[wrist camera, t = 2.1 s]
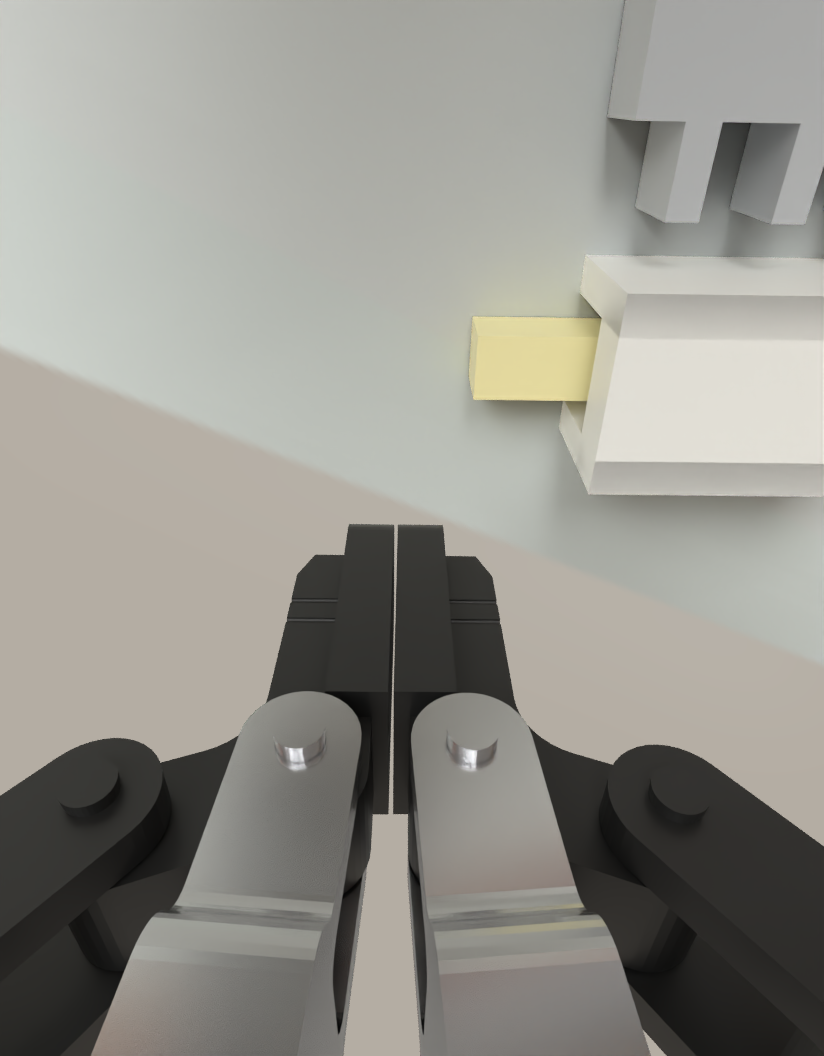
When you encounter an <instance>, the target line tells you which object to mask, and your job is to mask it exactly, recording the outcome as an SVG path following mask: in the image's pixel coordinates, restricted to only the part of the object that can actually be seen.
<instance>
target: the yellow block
mask: <svg viewBox="0 0 824 1056" xmlns="http://www.w3.org/2000/svg"><path fill="white" fill-rule="evenodd" d="M601 320H602V318H549V317H474V316H472V332H471V347H470V362H469V381H470V386H471V390H472V395H473V400H538V401H587V400H588V394H589V388H590V383H591V377H592V371H593V365H594V360H595V354H596V348H597V343H598V337H599V331H600V326H601Z"/></svg>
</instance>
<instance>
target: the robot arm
mask: <svg viewBox="0 0 824 1056" xmlns="http://www.w3.org/2000/svg"><path fill="white" fill-rule="evenodd" d="M397 547H398V548H397V587H396V625H395V666H394V775H393V780H394V782H393V787H394V788H393V793H394V794H393V814H408V889H409V903H410V917H411V929H412V942H413V943H412V944H413V957H414V970H415V984H416V998H417V1011H418V1024H419V1039H420V1056H651V1054H650V1051H649V1048H648V1045H647V1042H646V1039H645V1035H644V1033H643V1030H644V1031H645V1032H646V1033H647V1034H648V1035H649V1036H650V1038H651V1039H652V1040H653V1041H654V1042H655V1043H656V1044H657V1045H658V1047H659V1048H660V1049H661V1050H662V1051H663V1052H664V1053H665V1054H666V1055H667V1056H824V846H822V845H821V844H820V843H818V842H817V841H815V840H814V839H813V838H811V837H810V836H809V835H807V834H806V833H805V832H803V831H802V830H800V829H799V828H798V827H796V826H795V825H793V824H792V823H791V822H789V821H788V820H787V819H785V818H784V817H783V816H781V815H780V814H779V813H777V812H776V811H774V810H773V809H772V808H770V807H769V806H768V805H766V804H765V803H763V802H762V801H761V800H759V799H758V798H757V797H755V796H754V795H752V794H751V793H750V792H748V791H747V790H745V789H744V788H743V787H742V786H740V785H739V784H738V783H736V782H735V781H733V780H732V779H731V778H729V777H728V776H726V775H725V774H724V773H722V772H721V771H720V770H718V769H717V768H715V767H714V766H713V765H711V764H710V763H708V762H707V761H705V760H704V759H702V758H700V757H698V756H696V755H694V754H692V753H690V752H687V751H684V750H682V749H679V748H675V747H671V746H664V745H645V746H640V747H636V748H634V749H631V750H629V751H627V752H625V753H624V754H622V755H621V756H620V757H619V758H618V759H617V760H616V761H615V763H614V765H611V764H608V763H604V762H601V761H597V760H594V759H590V758H587V757H584V756H580V755H577V754H573V753H570V752H568V751H565V750H562V749H560V748H558V747H556V746H553V745H552V744H550V743H549V742H547V741H545V740H544V739H542V738H541V737H540V736H538V735H537V734H536V733H535V732H534V731H533V730H532V729H531V728H530V727H529V726H528V725H527V724H526V722H525V721H524V719H523V718H522V717H521V715H520V714H519V712H518V709H517V707H516V704H515V700H514V696H513V690H512V684H511V679H510V673H509V668H508V662H507V657H506V651H505V646H504V640H503V634H502V629H501V625H500V618H499V612H498V606H497V605H496V595H495V590H494V584H493V578H492V576H491V575H490V573H489V572H488V571H487V570H486V569H485V567H484V566H483V565H482V564H481V563H480V561H479V560H478V559H477V558H476V557H468V556H467V557H466V556H464V557H463V556H445V545H444V533H443V526H442V525H398V546H397ZM393 631H394V525H371V524H349V527H348V533H347V540H346V547H345V555H315V556H314V557H313V558H312V559H311V560H310V561H309V562H308V563H307V565H306V566H305V567H304V568H303V569H302V570H301V571H300V572H299V573H298V575H297V578H296V583H295V586H294V591H293V595H292V603H290V607H289V611H288V616H287V622H286V624H285V629H284V632H283V637H282V641H281V645H280V650H279V653H278V658H277V662H276V666H275V670H274V674H273V678H272V683H271V687H270V691H269V695H268V699H267V702H266V703H265V704H264V705H262V706H261V707H260V708H258V709H257V710H256V711H255V712H254V713H253V714H252V715H251V716H250V717H249V718H248V720H247V721H246V722H245V724H244V726H243V727H242V730H241V732H240V734H239V736H237V737H235V738H234V739H232V740H230V741H229V742H227V743H224V744H222V745H220V746H218V747H215V748H213V749H209V750H206V751H203V752H199V753H195V754H192V755H188V756H184V757H180V758H177V759H173V760H170V761H165V762H162V763H160V761H159V759H158V758H157V755H156V754H155V753H154V752H153V751H152V750H151V749H150V748H148V747H147V746H146V745H144V744H142V743H140V742H137V741H134V740H130V739H121V738H110V739H102V740H97V741H93V742H89V743H86V744H84V745H80V746H79V747H76V748H74V749H72V750H70V751H68V752H66V753H64V754H63V755H61V756H59V757H58V758H56V759H55V760H53V761H52V762H50V763H49V764H47V765H46V766H44V767H43V768H41V769H40V770H38V771H37V772H35V773H34V774H32V775H31V776H29V777H28V778H26V779H25V780H23V781H22V782H20V783H19V784H17V785H16V786H14V787H13V788H11V789H10V790H8V791H7V792H5V793H4V794H2V795H1V796H0V1056H343V1055H344V1044H345V1035H346V1027H347V1019H348V1011H349V1004H350V996H351V988H352V981H353V973H354V965H355V958H356V950H357V942H358V935H359V927H360V919H361V912H362V904H363V896H364V888H365V880H366V867H367V864H368V861H369V858H370V851H371V835H372V816H373V814H388V807H389V773H390V772H389V770H390V737H391V736H390V735H391V703H392V701H391V700H392V668H393Z"/></svg>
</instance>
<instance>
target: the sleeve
mask: <svg viewBox="0 0 824 1056" xmlns="http://www.w3.org/2000/svg"><path fill="white" fill-rule="evenodd" d="M580 293H581V295H582V296H583V297H584V298H585V299H586V300H587V302H588V303H589V304H590V305H591V306H592V307H593V309H594V310H595V311H596V312H597V313H598V314H599V316H600V317H601V318H602V320H601V326H600V331H599V337H598V343H597V348H596V354H595V360H594V365H593V371H592V377H591V383H590V388H589V394H588V400H587V401H563V404H562V411H561V417H560V424H559V430H560V432H561V434H562V436H563V439H564V441H565V443H566V445H567V447H568V450H569V452H570V454H571V456H572V459H573V461H574V463H575V465H576V467H577V470H578V472H579V474H580V476H581V479H582V481H583V483H584V485H585V487H586V490H587V492H588V494H589V495H680V496H782V497H824V258H768V257H699V256H630V255H585V261H584V267H583V274H582V280H581V287H580Z"/></svg>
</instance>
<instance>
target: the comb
mask: <svg viewBox="0 0 824 1056" xmlns="http://www.w3.org/2000/svg"><path fill="white" fill-rule="evenodd" d="M607 117H610V118H618V119H626V120H633V121H651V123H650V129H649V134H648V139H647V145H646V150H645V156H644V161H643V166H642V172H641V177H640V182H639V188H638V193H637V198H636V204H635V208H637V209H639V210H641V211H643V212H645V213H647V214H649V215H651V216H653V217H654V218H656V219H658V220H660V221H662V222H664V223H699V220H700V216H701V211H702V207H703V203H704V199H705V195H706V191H707V186H708V182H709V178H710V174H711V170H712V165H713V161H714V157H715V153H716V149H717V145H718V140H719V136H720V132H721V128H722V124H723V122H738V123H751V126H750V130H749V133H748V137H747V141H746V145H745V149H744V153H743V157H742V160H741V164H740V168H739V172H738V176H737V180H736V183H735V187H734V191H733V195H732V199H731V203H730V207H729V209H730V210H733V211H736V212H739V213H741V214H744V215H747V216H750V217H752V218H755V219H758V220H761V221H763V222H766V223H769V224H786V225H805V223H806V220H807V217H808V214H809V211H810V208H811V204H812V201H813V198H814V195H815V192H816V189H817V186H818V183H819V180H820V177H821V173H822V170H823V167H824V0H625V5H624V11H623V18H622V24H621V31H620V37H619V43H618V50H617V56H616V63H615V69H614V76H613V82H612V89H611V95H610V102H609V108H608V115H607ZM823 211H824V208H823Z"/></svg>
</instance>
